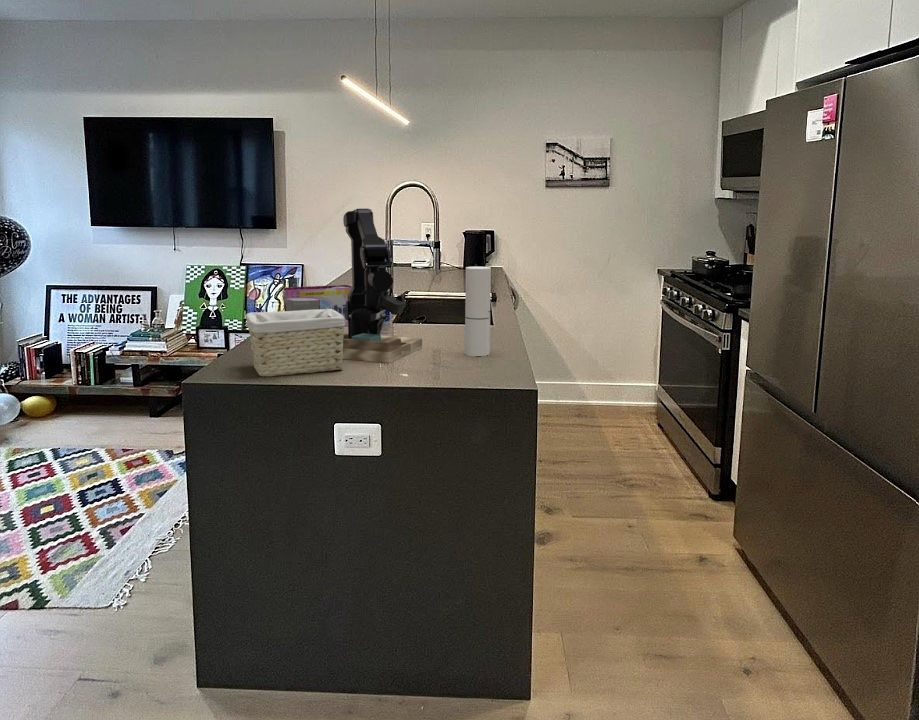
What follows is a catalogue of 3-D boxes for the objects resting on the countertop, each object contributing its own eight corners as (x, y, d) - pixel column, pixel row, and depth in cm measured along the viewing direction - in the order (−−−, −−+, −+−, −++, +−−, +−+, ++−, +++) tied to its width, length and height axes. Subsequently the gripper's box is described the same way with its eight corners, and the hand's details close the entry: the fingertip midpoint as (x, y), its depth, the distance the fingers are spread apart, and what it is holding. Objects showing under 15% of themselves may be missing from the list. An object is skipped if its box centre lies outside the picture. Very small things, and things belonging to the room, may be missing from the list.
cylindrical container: (492, 352, 239) (494, 267, 234) (485, 357, 232) (486, 269, 227) (469, 350, 241) (470, 266, 236) (461, 355, 235) (462, 268, 229)
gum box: (285, 330, 273) (283, 290, 270) (280, 326, 280) (279, 287, 277) (354, 326, 282) (354, 287, 279) (348, 322, 289) (348, 284, 286)
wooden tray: (331, 357, 231) (331, 338, 229) (368, 343, 251) (368, 326, 249) (389, 363, 224) (388, 343, 223) (422, 348, 244) (422, 330, 243)
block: (351, 346, 230) (351, 336, 230) (363, 343, 236) (363, 333, 235) (370, 348, 228) (369, 338, 227) (381, 345, 233) (381, 334, 233)
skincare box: (293, 356, 232) (291, 300, 229) (286, 351, 239) (284, 297, 235) (322, 353, 236) (320, 299, 233) (314, 349, 242) (312, 296, 239)
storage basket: (254, 379, 205) (251, 321, 202) (247, 365, 220) (244, 311, 217) (348, 372, 214) (346, 316, 211) (334, 359, 229) (333, 307, 225)
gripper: (385, 292, 221) (386, 349, 224) (414, 284, 238) (415, 337, 241) (349, 290, 225) (350, 346, 228) (380, 282, 242) (381, 334, 245)
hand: (376, 340), depth 235 cm, fingers closed
